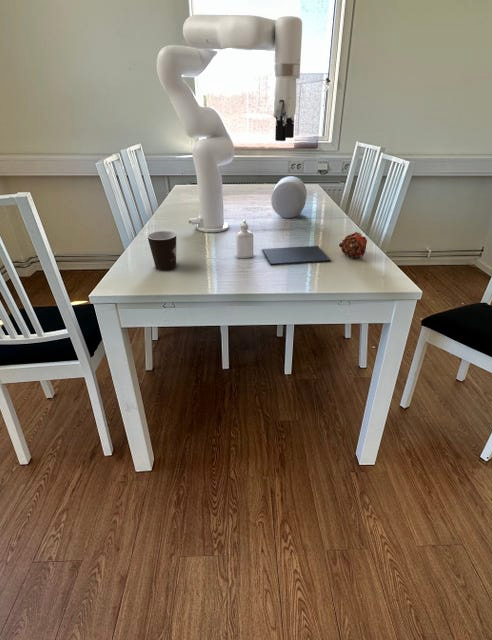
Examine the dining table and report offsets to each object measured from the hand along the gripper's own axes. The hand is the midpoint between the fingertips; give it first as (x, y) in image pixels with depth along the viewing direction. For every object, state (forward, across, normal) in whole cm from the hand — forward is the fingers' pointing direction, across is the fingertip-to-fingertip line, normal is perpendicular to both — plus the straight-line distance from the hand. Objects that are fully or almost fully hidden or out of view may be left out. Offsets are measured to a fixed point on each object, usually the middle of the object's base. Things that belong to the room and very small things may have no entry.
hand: (284, 139), depth 125 cm
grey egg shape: (+33, -43, -10) cm, 55 cm away
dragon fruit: (+34, +5, +26) cm, 43 cm away
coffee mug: (+33, +33, -28) cm, 55 cm away
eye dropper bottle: (+34, +18, -8) cm, 39 cm away
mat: (+33, +11, +8) cm, 36 cm away
